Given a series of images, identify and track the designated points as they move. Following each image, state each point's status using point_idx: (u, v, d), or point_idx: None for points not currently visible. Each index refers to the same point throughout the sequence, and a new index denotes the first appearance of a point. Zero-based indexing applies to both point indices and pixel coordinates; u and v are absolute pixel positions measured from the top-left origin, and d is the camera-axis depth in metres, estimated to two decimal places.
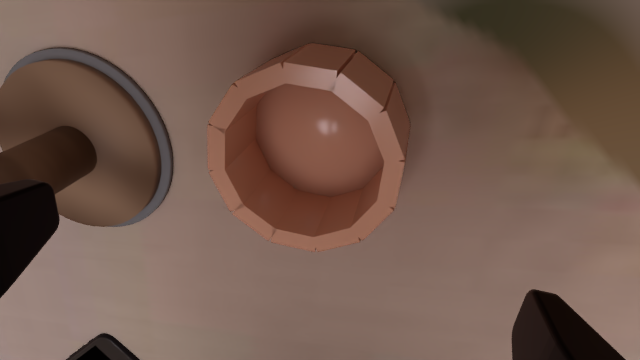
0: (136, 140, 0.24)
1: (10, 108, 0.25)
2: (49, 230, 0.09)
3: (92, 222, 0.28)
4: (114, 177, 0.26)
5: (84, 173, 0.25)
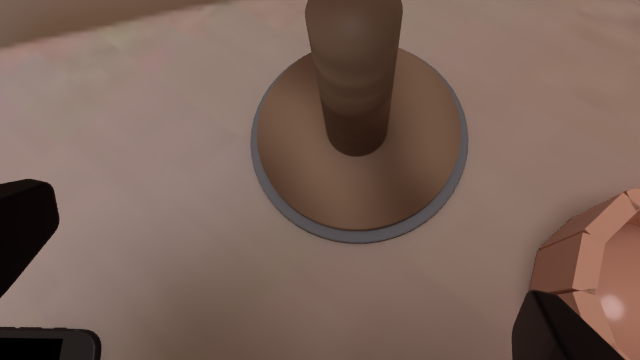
0: (437, 167, 0.21)
1: None
2: (49, 230, 0.09)
3: (290, 197, 0.21)
4: (373, 178, 0.21)
5: (363, 149, 0.21)
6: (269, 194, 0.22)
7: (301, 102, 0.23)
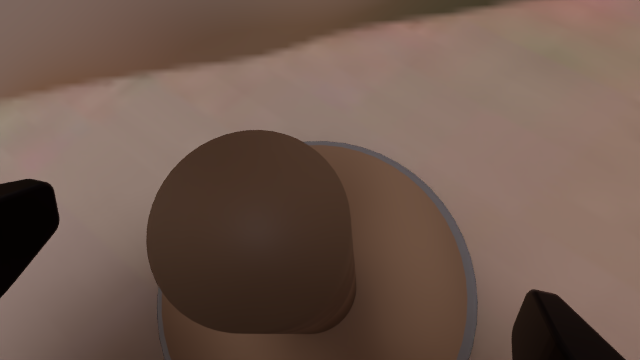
0: (430, 358, 0.14)
1: None
2: (49, 230, 0.09)
3: None
4: None
5: None
6: None
7: None
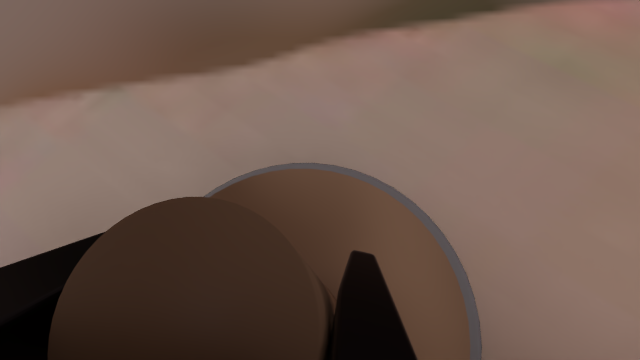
0: None
1: (267, 198, 0.14)
2: None
3: None
4: None
5: None
6: None
7: None
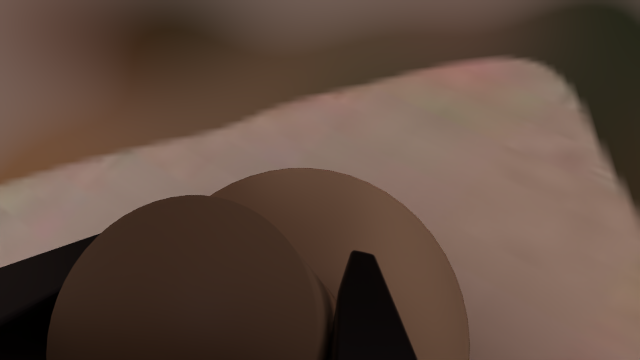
0: None
1: (267, 198, 0.14)
2: None
3: None
4: None
5: None
6: None
7: None
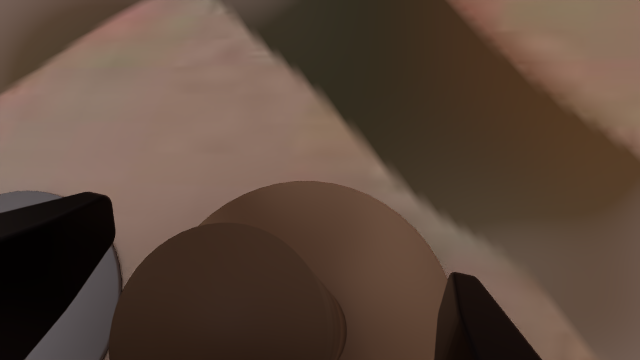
0: None
1: (275, 208, 0.16)
2: (107, 244, 0.09)
3: None
4: None
5: None
6: None
7: None
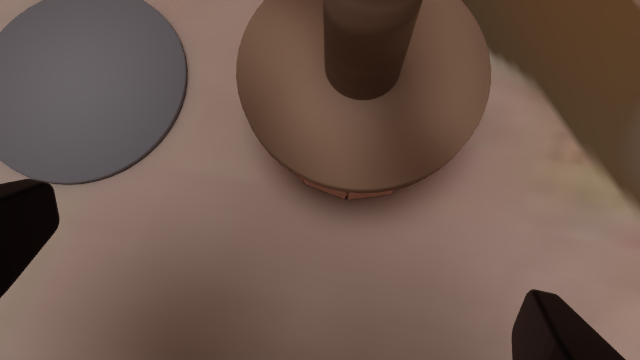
0: (457, 122, 0.17)
1: None
2: (49, 230, 0.09)
3: (271, 142, 0.17)
4: (377, 129, 0.17)
5: (369, 89, 0.16)
6: (16, 167, 0.22)
7: (296, 26, 0.18)
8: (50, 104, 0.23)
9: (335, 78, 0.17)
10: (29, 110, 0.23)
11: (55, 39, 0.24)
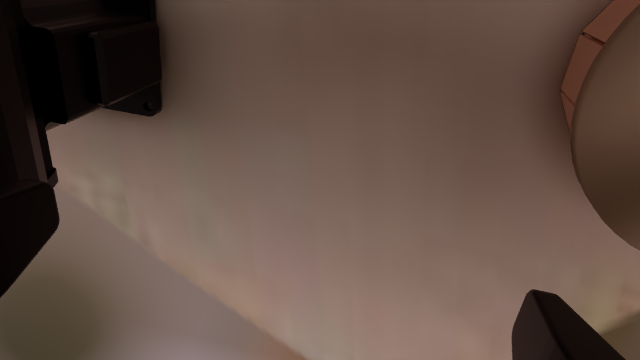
0: None
1: None
2: (49, 230, 0.09)
3: None
4: None
5: None
6: None
7: None
8: None
9: None
10: None
11: None
